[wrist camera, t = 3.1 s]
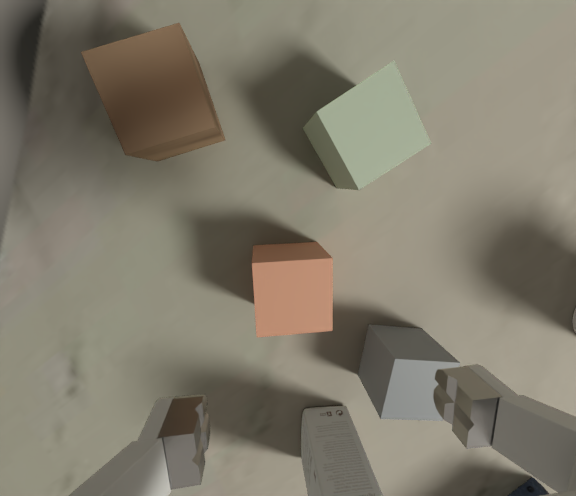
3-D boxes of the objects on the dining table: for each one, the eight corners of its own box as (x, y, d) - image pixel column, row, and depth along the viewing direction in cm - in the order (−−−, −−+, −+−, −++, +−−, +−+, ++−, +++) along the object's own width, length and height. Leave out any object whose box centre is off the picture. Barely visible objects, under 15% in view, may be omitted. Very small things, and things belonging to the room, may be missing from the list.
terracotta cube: (253, 245, 22) (251, 263, 17) (316, 241, 22) (332, 258, 18) (257, 304, 23) (256, 337, 18) (317, 300, 24) (332, 330, 19)
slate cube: (368, 323, 25) (395, 358, 20) (421, 328, 25) (460, 362, 20) (357, 373, 26) (380, 418, 21) (408, 376, 26) (442, 420, 21)
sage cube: (302, 128, 20) (316, 111, 16) (361, 89, 20) (394, 60, 15) (336, 188, 22) (359, 189, 17) (392, 152, 21) (431, 143, 17)
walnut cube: (126, 85, 19) (80, 52, 14) (199, 63, 19) (179, 22, 14) (157, 161, 20) (125, 154, 15) (225, 140, 20) (215, 126, 15)
